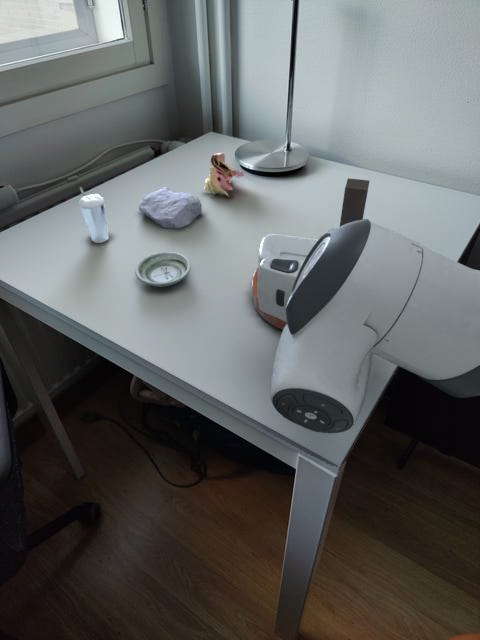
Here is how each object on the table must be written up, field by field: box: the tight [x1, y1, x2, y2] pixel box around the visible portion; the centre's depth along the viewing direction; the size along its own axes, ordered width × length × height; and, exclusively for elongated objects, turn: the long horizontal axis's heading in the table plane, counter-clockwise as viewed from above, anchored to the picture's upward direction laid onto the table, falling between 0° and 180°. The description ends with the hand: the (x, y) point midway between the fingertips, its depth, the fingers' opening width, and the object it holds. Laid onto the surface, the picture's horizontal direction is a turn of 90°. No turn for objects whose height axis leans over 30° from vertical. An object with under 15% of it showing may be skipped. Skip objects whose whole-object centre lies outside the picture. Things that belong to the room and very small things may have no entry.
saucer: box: [134, 251, 192, 288], centre depth 81 cm, size 10×10×2 cm
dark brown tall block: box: [339, 177, 370, 227], centre depth 59 cm, size 4×4×14 cm
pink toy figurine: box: [203, 152, 245, 197], centre depth 106 cm, size 9×10×10 cm
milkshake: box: [78, 186, 109, 244], centre depth 89 cm, size 5×5×10 cm
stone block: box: [138, 186, 203, 230], centre depth 98 cm, size 12×5×10 cm
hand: (349, 235), depth 60 cm, fingers closed on dark brown tall block, 2 cm apart
